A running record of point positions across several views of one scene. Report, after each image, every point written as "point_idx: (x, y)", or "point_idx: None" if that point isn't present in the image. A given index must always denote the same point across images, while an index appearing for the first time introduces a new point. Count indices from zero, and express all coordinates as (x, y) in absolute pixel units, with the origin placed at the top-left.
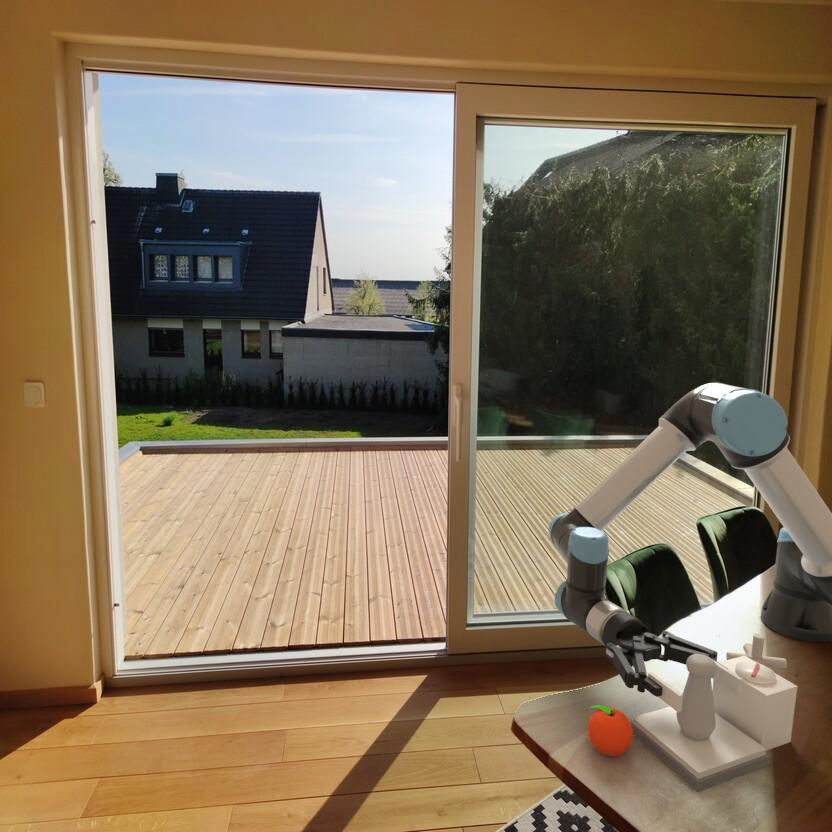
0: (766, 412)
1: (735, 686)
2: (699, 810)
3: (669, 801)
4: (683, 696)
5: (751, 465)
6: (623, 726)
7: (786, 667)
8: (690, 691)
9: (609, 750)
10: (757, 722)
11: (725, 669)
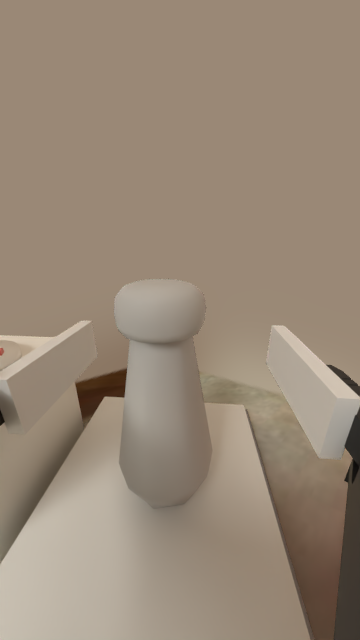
0: None
1: (91, 345)
2: (263, 403)
3: (298, 425)
4: (194, 420)
5: None
6: None
7: None
8: (198, 376)
9: None
10: (70, 398)
11: (60, 338)
